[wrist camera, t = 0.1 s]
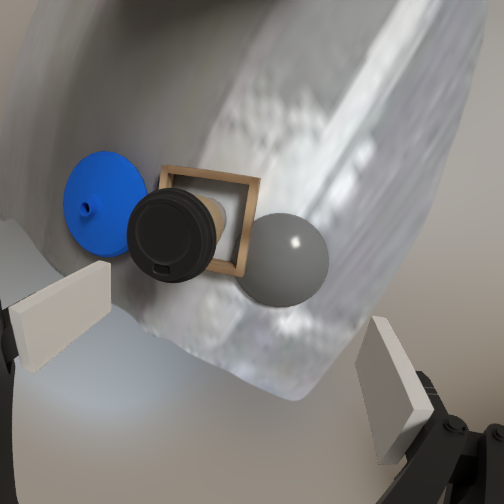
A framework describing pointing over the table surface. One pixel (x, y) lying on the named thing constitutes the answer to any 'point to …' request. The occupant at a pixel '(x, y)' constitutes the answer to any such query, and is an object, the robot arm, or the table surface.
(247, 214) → the wooden square frame
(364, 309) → the table surface
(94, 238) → the blue spouted lid
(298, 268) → the grey round plate
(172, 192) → the coffee cup
